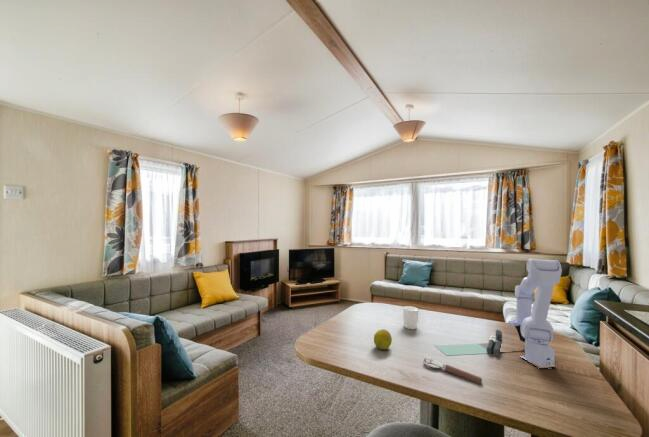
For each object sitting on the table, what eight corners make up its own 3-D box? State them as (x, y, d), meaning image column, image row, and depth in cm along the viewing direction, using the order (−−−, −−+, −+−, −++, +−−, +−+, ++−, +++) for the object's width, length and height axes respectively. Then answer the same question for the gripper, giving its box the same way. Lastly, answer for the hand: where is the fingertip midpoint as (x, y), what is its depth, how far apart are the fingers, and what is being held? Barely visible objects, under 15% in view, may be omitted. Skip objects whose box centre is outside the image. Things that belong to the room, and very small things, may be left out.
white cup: (416, 324, 151) (416, 306, 151) (419, 330, 143) (420, 311, 143) (401, 323, 152) (402, 305, 152) (404, 329, 144) (404, 310, 144)
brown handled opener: (483, 382, 99) (483, 374, 99) (479, 390, 95) (480, 381, 95) (426, 360, 112) (427, 353, 112) (421, 366, 108) (421, 358, 108)
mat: (525, 351, 122) (525, 351, 122) (446, 355, 117) (446, 355, 117) (509, 342, 131) (509, 342, 131) (434, 345, 125) (434, 345, 125)
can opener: (490, 339, 134) (491, 326, 134) (502, 342, 131) (503, 329, 131) (485, 353, 119) (485, 339, 119) (499, 357, 116) (499, 342, 116)
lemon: (386, 355, 115) (386, 336, 116) (369, 349, 120) (370, 331, 120) (395, 346, 124) (396, 328, 124) (379, 341, 129) (380, 324, 129)
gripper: (529, 308, 132) (528, 336, 132) (503, 309, 130) (502, 337, 130) (543, 313, 125) (542, 343, 125) (515, 314, 123) (514, 344, 123)
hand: (523, 341), depth 127 cm, fingers closed
